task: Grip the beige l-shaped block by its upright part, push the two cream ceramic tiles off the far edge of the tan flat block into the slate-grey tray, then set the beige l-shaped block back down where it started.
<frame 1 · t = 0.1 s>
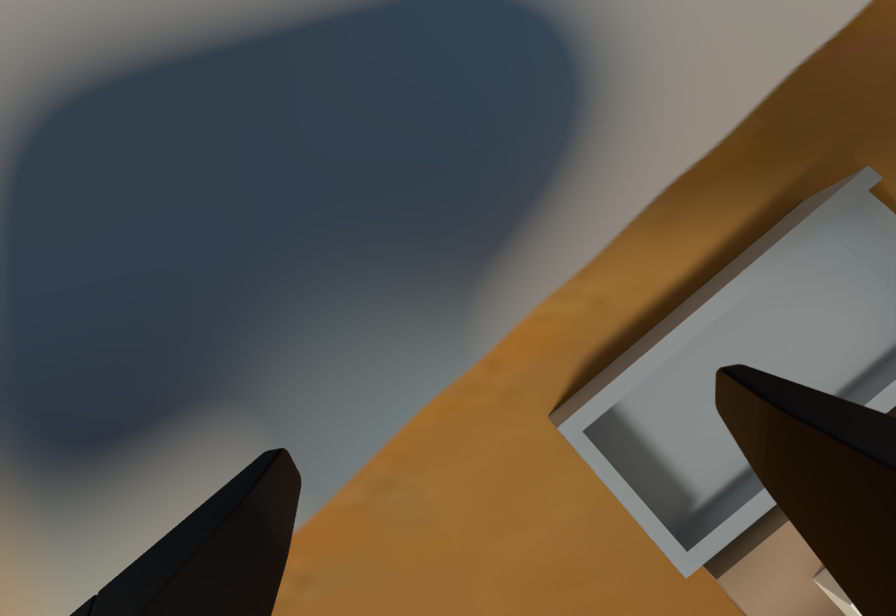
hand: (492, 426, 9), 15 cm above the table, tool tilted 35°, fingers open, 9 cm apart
grey tray: (738, 373, 22), on the table
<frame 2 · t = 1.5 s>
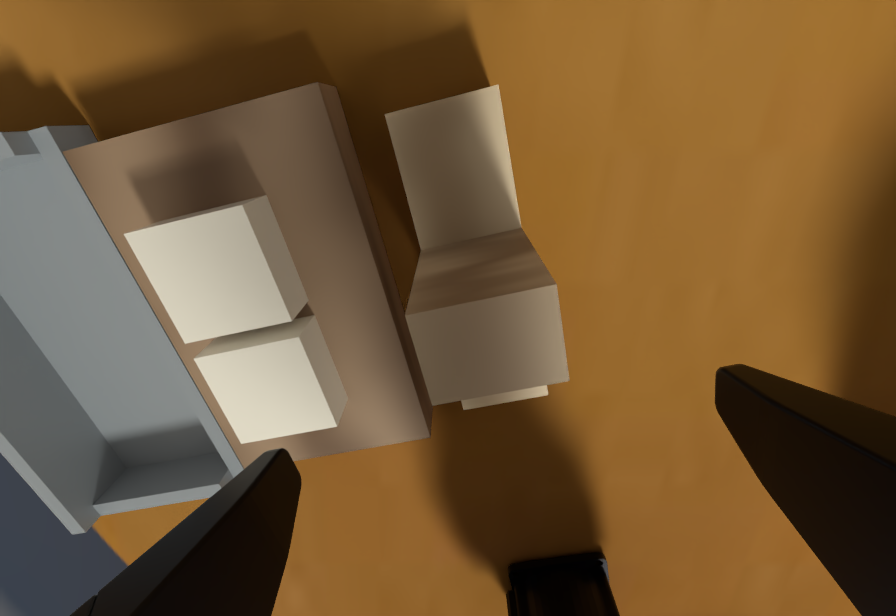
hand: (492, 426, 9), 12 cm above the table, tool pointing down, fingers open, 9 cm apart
cream tile B: (285, 367, 19), point 2 cm above the table, touching tan flat block
beige l-shaped block: (474, 252, 20), on the table
cream tile A: (237, 262, 17), point 2 cm above the table, touching tan flat block
tan flat block: (293, 293, 20), on the table
grey tray: (111, 333, 21), on the table
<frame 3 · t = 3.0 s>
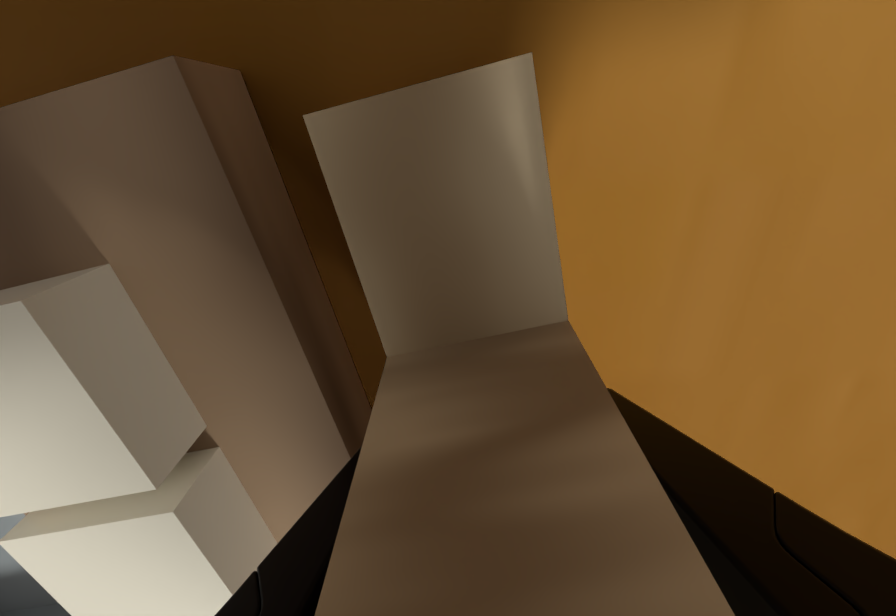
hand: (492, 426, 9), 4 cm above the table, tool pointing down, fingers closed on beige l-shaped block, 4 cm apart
cream tile B: (183, 518, 12), point 2 cm above the table, touching tan flat block
beige l-shaped block: (481, 333, 12), on the table, touching gripper
cream tile A: (78, 370, 10), point 2 cm above the table, touching tan flat block
tan flat block: (204, 391, 13), on the table
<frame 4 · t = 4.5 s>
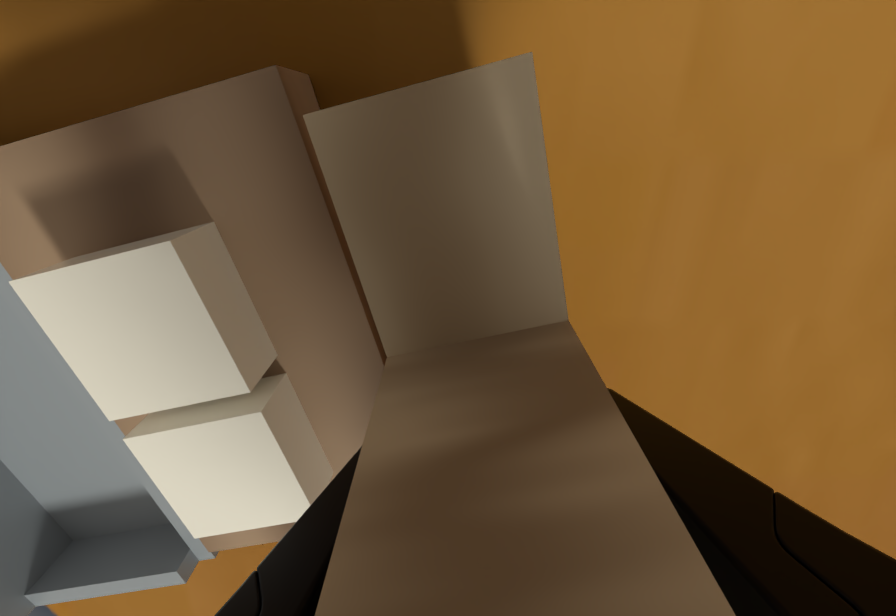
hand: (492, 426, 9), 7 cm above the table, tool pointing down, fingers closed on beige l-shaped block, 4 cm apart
cream tile B: (252, 436, 15), point 2 cm above the table, touching tan flat block
beige l-shaped block: (481, 333, 12), point 3 cm above the table, touching gripper
cream tile A: (181, 308, 13), point 2 cm above the table, touching tan flat block
tan flat block: (264, 338, 16), on the table
grey tray: (41, 387, 17), on the table
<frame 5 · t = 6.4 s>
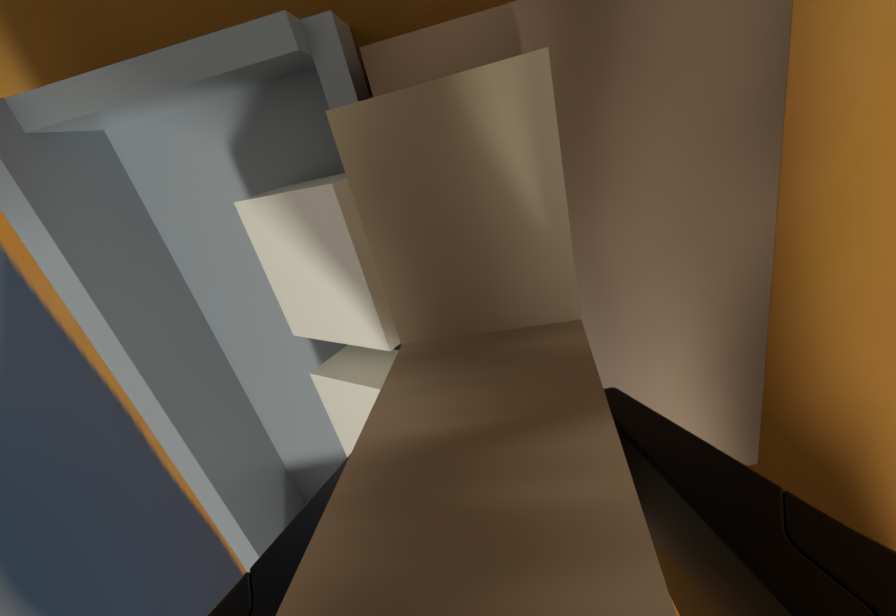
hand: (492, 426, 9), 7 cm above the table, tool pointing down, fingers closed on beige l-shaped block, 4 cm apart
cream tile B: (410, 400, 15), point 2 cm above the table, tilted 33°, touching beige l-shaped block
beige l-shaped block: (502, 327, 12), point 3 cm above the table, tilted 7°, touching cream tile A, cream tile B, gripper
cream tile A: (358, 248, 13), point 2 cm above the table, tilted 34°, touching grey tray, beige l-shaped block
tan flat block: (577, 271, 15), on the table
grey tray: (317, 329, 16), on the table
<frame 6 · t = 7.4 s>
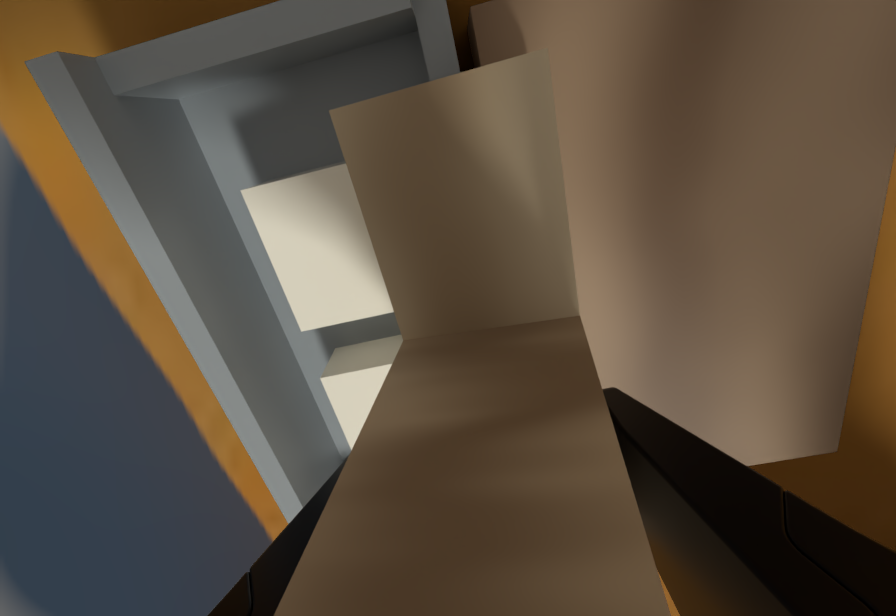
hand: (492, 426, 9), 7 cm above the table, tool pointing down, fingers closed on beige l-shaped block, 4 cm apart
cream tile B: (408, 385, 16), resting on grey tray
beige l-shaped block: (502, 323, 13), point 3 cm above the table, tilted 8°, touching gripper
cream tile A: (358, 232, 14), resting on grey tray
tan flat block: (656, 252, 15), on the table
grey tray: (382, 312, 16), on the table
when the fingers open (5 cm above the table, at t = 10.3 s): beige l-shaped block drops 1 cm, on the table.
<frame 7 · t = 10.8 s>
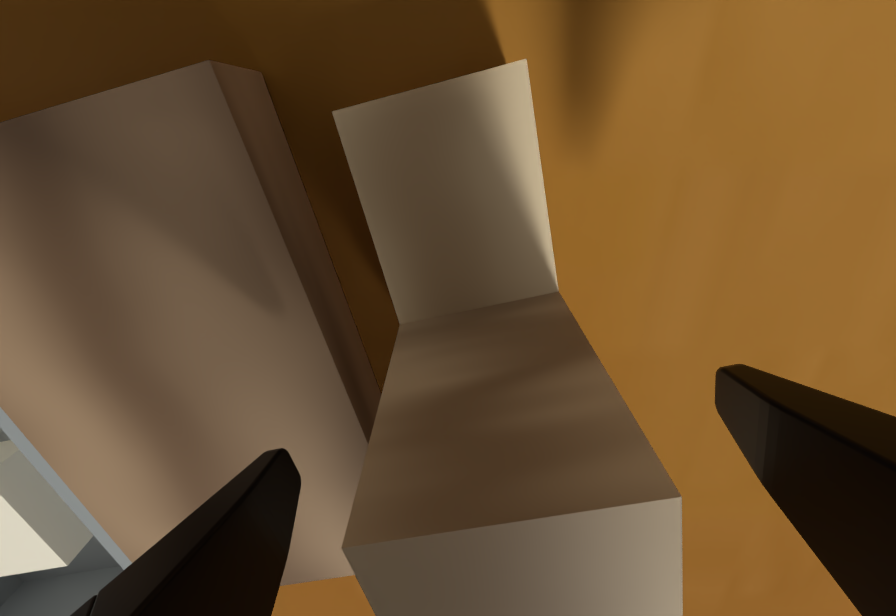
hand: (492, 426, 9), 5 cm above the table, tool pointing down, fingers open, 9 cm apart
cream tile B: (25, 487, 16), resting on grey tray
beige l-shaped block: (482, 310, 14), on the table
tan flat block: (223, 368, 14), on the table
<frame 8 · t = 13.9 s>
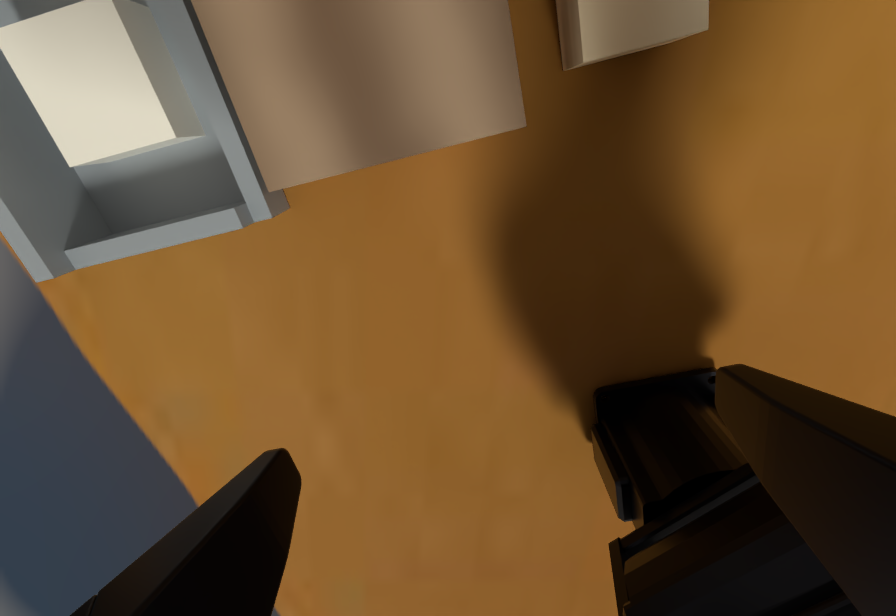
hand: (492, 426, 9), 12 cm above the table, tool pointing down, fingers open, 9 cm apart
cream tile B: (127, 90, 17), resting on grey tray
grey tray: (86, 0, 16), on the table
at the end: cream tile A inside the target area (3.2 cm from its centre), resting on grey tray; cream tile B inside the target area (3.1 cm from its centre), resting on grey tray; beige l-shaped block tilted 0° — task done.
